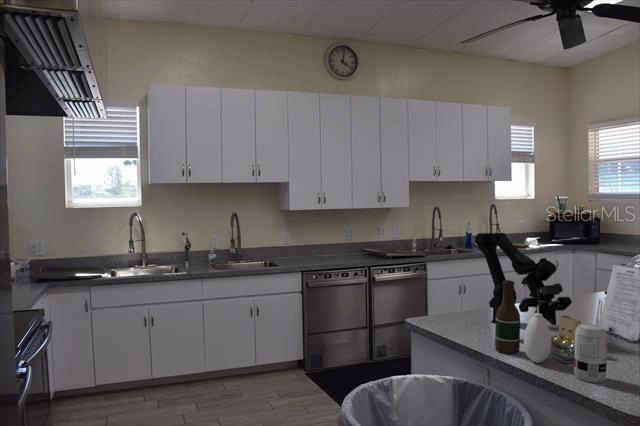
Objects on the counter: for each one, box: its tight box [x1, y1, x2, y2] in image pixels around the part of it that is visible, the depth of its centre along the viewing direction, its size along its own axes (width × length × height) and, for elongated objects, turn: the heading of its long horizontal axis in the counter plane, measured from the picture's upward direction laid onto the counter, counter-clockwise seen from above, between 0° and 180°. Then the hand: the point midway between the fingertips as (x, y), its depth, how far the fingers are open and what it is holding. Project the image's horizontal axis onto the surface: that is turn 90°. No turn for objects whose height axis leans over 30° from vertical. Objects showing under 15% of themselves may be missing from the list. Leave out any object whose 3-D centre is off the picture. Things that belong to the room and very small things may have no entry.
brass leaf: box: [551, 315, 582, 350], centre depth 174 cm, size 8×6×10 cm
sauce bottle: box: [523, 306, 552, 364], centre depth 161 cm, size 8×8×18 cm
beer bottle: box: [494, 279, 521, 355], centre depth 171 cm, size 8×8×24 cm
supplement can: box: [573, 323, 608, 384], centre depth 147 cm, size 8×8×15 cm
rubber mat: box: [520, 338, 574, 365], centre depth 173 cm, size 26×15×1 cm, turn 11°
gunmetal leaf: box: [551, 342, 575, 361], centre depth 165 cm, size 7×9×4 cm
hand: (554, 324), depth 182 cm, fingers closed
